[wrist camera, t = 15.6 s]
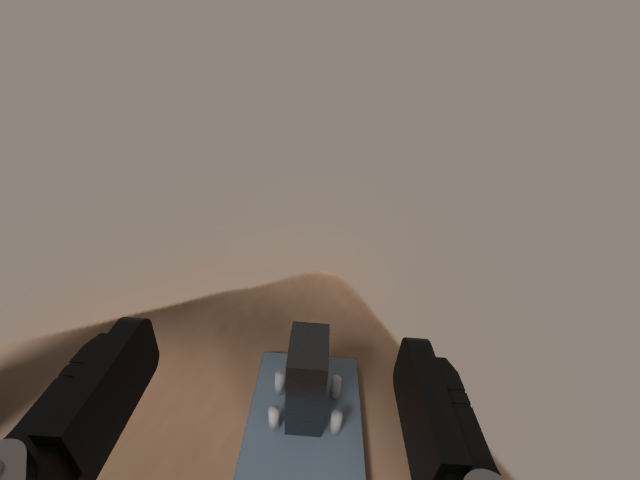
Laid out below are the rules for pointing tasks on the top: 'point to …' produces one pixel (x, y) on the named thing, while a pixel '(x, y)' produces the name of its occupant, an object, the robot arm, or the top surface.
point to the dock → (303, 451)
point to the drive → (306, 379)
